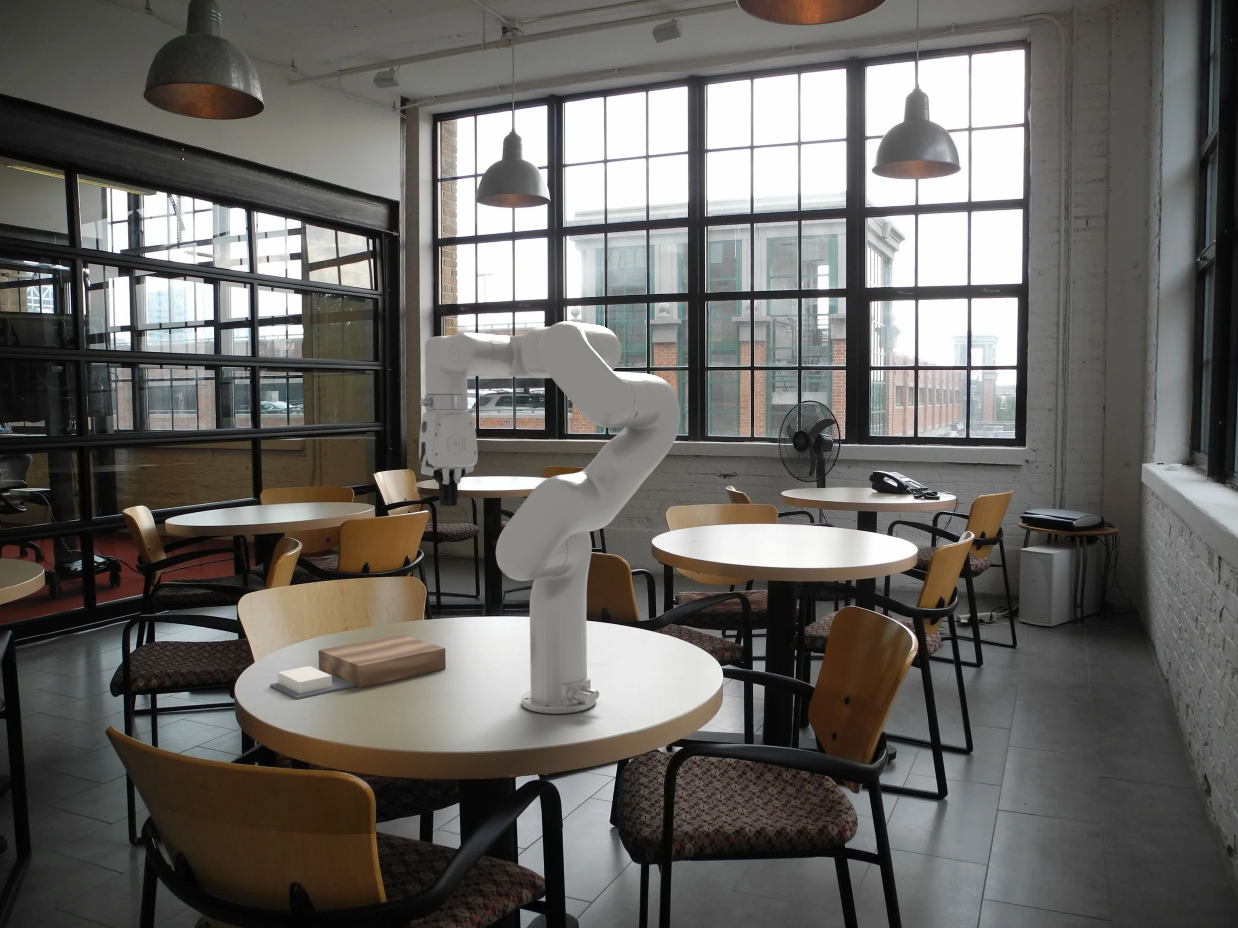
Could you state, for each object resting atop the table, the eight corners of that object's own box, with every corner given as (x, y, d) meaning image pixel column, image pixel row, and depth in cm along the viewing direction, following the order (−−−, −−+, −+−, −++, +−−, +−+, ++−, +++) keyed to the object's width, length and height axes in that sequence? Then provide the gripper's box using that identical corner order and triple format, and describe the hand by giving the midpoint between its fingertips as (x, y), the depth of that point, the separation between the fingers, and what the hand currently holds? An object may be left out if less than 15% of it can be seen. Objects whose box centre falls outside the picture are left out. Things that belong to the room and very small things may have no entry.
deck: (445, 668, 181) (445, 648, 180) (359, 687, 168) (359, 665, 168) (402, 653, 192) (401, 634, 192) (318, 670, 180) (318, 649, 180)
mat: (354, 686, 169) (354, 684, 169) (297, 699, 162) (296, 696, 162) (326, 674, 177) (326, 672, 177) (270, 685, 170) (270, 683, 170)
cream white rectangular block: (299, 682, 164) (299, 693, 164) (331, 675, 168) (332, 686, 168) (277, 672, 170) (278, 682, 170) (309, 665, 174) (309, 676, 174)
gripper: (422, 404, 163) (424, 510, 164) (492, 404, 174) (494, 504, 175) (399, 405, 169) (401, 507, 170) (469, 405, 179) (470, 501, 180)
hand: (448, 505), depth 172 cm, fingers closed
